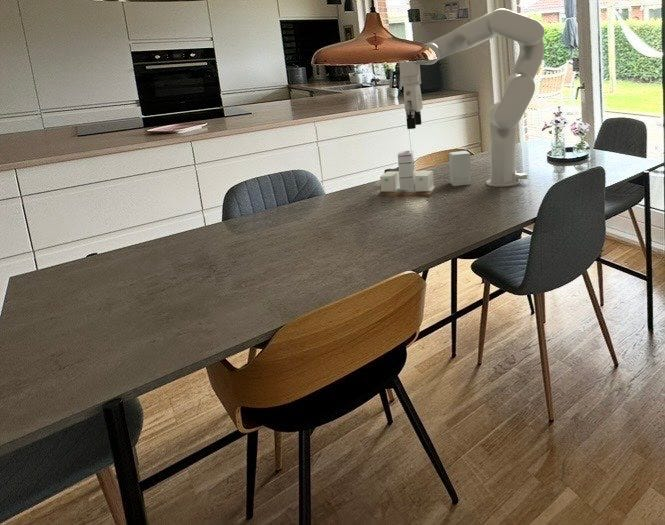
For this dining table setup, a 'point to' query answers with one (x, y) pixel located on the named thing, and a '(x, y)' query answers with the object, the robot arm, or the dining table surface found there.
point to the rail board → (407, 193)
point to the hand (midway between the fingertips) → (414, 126)
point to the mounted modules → (392, 181)
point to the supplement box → (460, 168)
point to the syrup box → (406, 170)
